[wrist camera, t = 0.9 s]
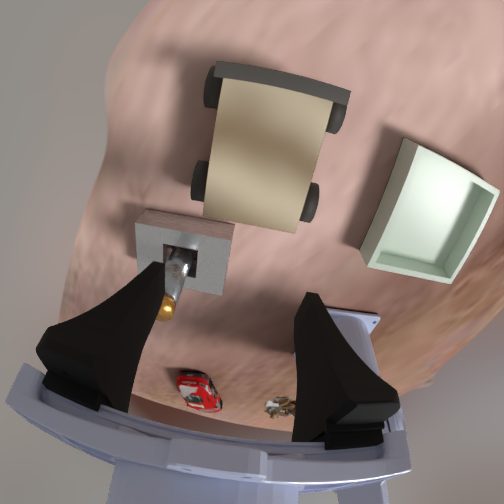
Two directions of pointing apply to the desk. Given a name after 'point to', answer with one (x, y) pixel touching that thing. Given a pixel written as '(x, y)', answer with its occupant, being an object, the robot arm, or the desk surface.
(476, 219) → the tray
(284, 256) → the desk surface
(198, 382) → the race car
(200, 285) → the plate
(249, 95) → the ramp trolley
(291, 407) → the frog figurine
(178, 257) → the pin
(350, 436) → the robot arm
